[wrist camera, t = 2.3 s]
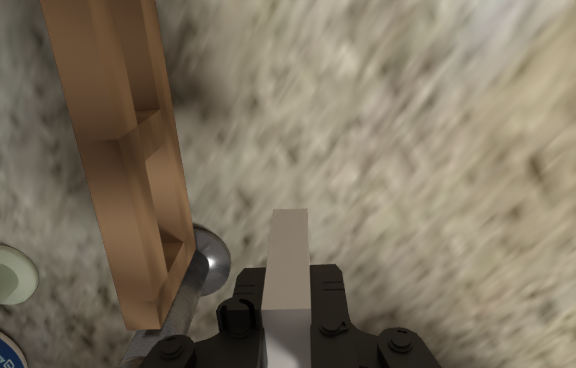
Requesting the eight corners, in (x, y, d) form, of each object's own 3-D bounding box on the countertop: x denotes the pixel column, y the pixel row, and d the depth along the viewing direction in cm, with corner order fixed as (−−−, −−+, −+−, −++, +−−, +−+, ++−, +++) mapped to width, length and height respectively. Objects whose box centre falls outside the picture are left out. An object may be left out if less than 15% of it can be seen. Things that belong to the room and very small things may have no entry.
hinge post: (235, 289, 28) (195, 459, 18) (162, 292, 29) (80, 460, 18) (226, 225, 27) (176, 371, 16) (149, 228, 27) (48, 374, 16)
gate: (196, 248, 26) (160, 329, 19) (170, 249, 26) (126, 329, 19) (144, -60, 19) (66, -94, 13) (110, -57, 19) (15, -90, 13)
